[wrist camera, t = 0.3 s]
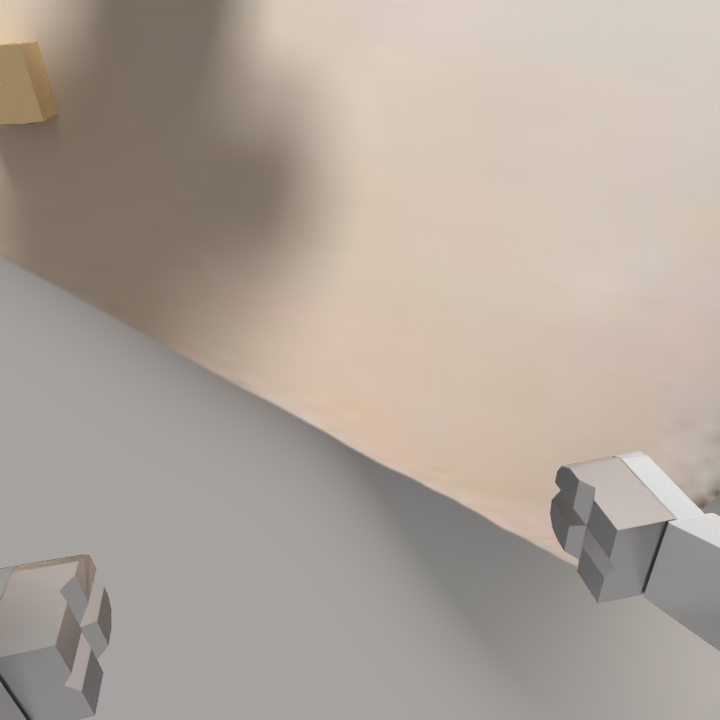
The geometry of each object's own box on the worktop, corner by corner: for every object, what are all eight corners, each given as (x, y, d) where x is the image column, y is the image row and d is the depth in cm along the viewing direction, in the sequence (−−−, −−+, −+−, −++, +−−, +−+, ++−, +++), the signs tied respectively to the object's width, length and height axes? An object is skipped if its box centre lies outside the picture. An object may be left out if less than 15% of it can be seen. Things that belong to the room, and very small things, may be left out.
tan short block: (-20, 45, 42) (-44, 47, 39) (37, 41, 43) (19, 44, 39) (6, 120, 45) (-14, 130, 41) (59, 116, 46) (45, 125, 42)
